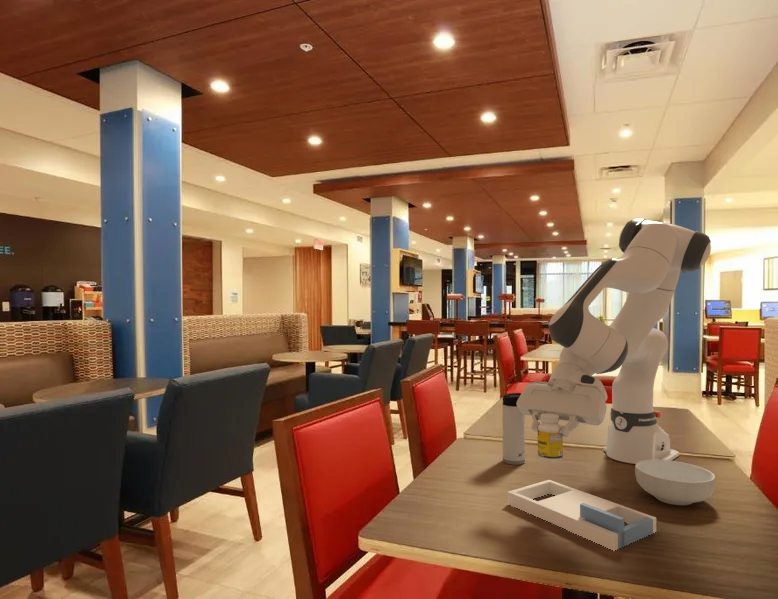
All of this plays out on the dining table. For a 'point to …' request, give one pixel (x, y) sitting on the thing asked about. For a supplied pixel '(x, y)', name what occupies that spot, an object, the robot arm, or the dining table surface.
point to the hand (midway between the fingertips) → (548, 432)
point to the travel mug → (513, 431)
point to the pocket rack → (584, 514)
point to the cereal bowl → (675, 481)
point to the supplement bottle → (550, 438)
